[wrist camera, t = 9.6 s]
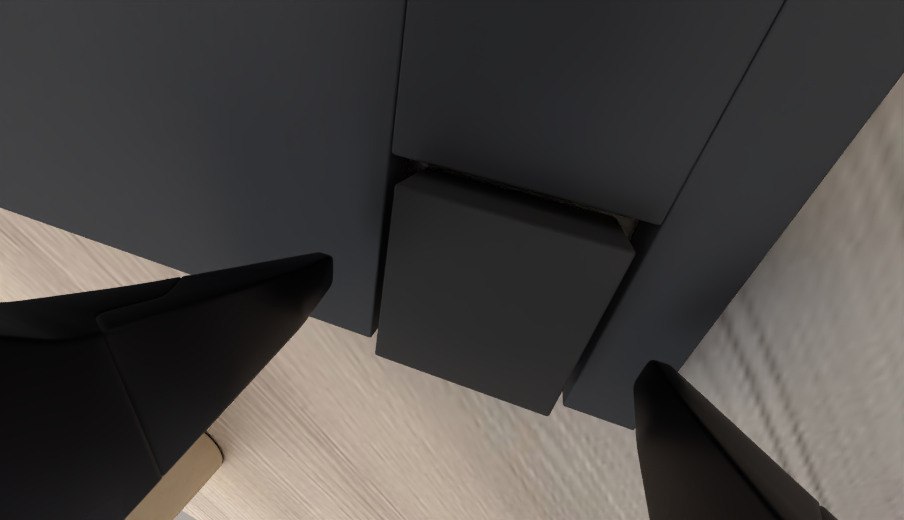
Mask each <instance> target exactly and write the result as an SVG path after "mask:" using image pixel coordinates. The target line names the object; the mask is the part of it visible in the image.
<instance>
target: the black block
mask: <svg viewBox="0 0 904 520" xmlns="http://www.w3.org/2000/svg"><path fill="white" fill-rule="evenodd" d="M634 256H635V250H634V248H633V247H632V245H631V243H630V241H629V240H628V238H627V236H626V235H625V233H624V231H623V230H622V228H621V226H620V224H619V223H618V221H617V220H616V219H615V218H612V217H609V216H605V215H601V214H597V213H594V212H590V211H586V210H583V209H579V208H575V207H572V206H568V205H564V204H560V203H557V202H553V201H549V200H546V199H542V198H538V197H535V196H531V195H527V194H524V193H520V192H516V191H512V190H509V189H505V188H501V187H498V186H494V185H490V184H487V183H483V182H479V181H475V180H472V179H468V178H464V177H461V176H457V175H453V174H450V173H446V172H442V171H439V170H435V169H431V168H424V169H423V170H421V171H419V172H417V173H416V174H414V175H412V176H410V177H408V178H407V179H405V180H403V181H401V182H399V183H398V184H396V186H395V190H394V198H393V207H392V215H391V224H390V232H389V241H388V249H387V258H386V266H385V275H384V283H383V292H382V300H381V309H380V317H379V326H378V334H377V343H376V351H375V354H376V355H378V356H381V357H383V358H386V359H389V360H392V361H395V362H397V363H400V364H403V365H406V366H409V367H411V368H414V369H417V370H420V371H422V372H425V373H428V374H431V375H434V376H436V377H439V378H442V379H445V380H447V381H450V382H453V383H456V384H459V385H461V386H464V387H467V388H470V389H473V390H475V391H478V392H481V393H484V394H486V395H489V396H492V397H495V398H498V399H500V400H503V401H506V402H509V403H512V404H514V405H517V406H520V407H523V408H525V409H528V410H531V411H534V412H537V413H539V414H542V415H545V416H549V414H550V413H551V411H552V409H553V407H554V405H555V403H556V401H557V400H558V398H559V396H560V394H561V392H562V390H563V388H564V387H565V385H566V383H567V381H568V379H569V377H570V375H571V374H572V372H573V370H574V368H575V366H576V364H577V362H578V361H579V359H580V357H581V355H582V353H583V351H584V349H585V347H586V346H587V344H588V342H589V340H590V338H591V336H592V334H593V333H594V331H595V329H596V327H597V325H598V323H599V321H600V320H601V318H602V316H603V314H604V312H605V310H606V308H607V307H608V305H609V303H610V301H611V299H612V297H613V295H614V293H615V292H616V290H617V288H618V286H619V284H620V282H621V280H622V279H623V277H624V275H625V273H626V271H627V269H628V267H629V266H630V264H631V262H632V260H633V258H634Z"/></svg>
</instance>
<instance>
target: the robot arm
mask: <svg viewBox="0 0 904 520" xmlns="http://www.w3.org/2000/svg"><path fill="white" fill-rule="evenodd" d="M332 282H333V258H332V256H330V255H327V254H324V253H321V252H316V253H310V254H305V255H299V256H293V257H288V258H282V259H277V260H271V261H266V262H260V263H255V264H249V265H244V266H238V267H233V268H227V269H222V270H216V271H211V272H205V273H200V274H194V275H188V276H183V277H182V278H180V277H177V278H171V279H166V280H160V281H154V282H149V283H143V284H137V285H130V286H124V287H117V288H110V289H103V290H96V291H89V292H81V293H74V294H67V295H59V296H52V297H45V298H37V299H30V300H23V301H14V302H0V520H125V519H126V518H127V516H128V515H129V514H130V513H131V512H132V511H133V510H134V509H135V508H136V507H137V506H138V505H139V503H140V502H141V501H142V500H143V499H144V498H145V497H146V496H147V495H148V494H149V493H150V491H151V490H152V489H153V488H154V487H155V486H156V485H157V484H158V483H159V482H160V481H161V479H162V478H163V477H162V476H165V475H166V474H167V473H168V471H169V470H170V469H171V468H172V467H173V466H174V465H175V464H176V463H177V462H178V461H179V459H180V458H181V457H182V456H183V455H184V454H185V453H186V452H187V451H188V450H189V449H190V447H191V446H192V445H193V444H194V443H195V442H196V441H197V440H198V439H199V438H200V437H201V435H202V434H203V433H204V432H205V431H206V430H207V429H208V428H209V427H210V426H211V425H212V423H213V422H214V421H215V420H216V419H217V418H218V417H219V416H220V415H221V414H222V413H223V411H224V410H225V409H226V408H227V407H228V406H229V405H230V404H231V403H232V402H233V401H234V399H235V398H236V397H237V396H238V395H239V394H240V393H241V392H242V391H243V390H244V389H245V388H246V386H247V385H248V384H249V383H250V382H251V381H252V380H253V379H254V378H255V377H256V376H257V374H258V373H259V372H260V371H261V370H262V369H263V368H264V367H265V366H266V365H267V364H268V362H269V361H270V360H271V359H272V358H273V357H274V356H275V355H276V354H277V353H278V352H279V350H280V349H281V348H282V347H283V346H284V345H285V344H286V343H287V342H288V341H289V340H290V338H291V337H292V336H293V335H294V334H295V333H296V332H297V331H298V330H299V328H300V327H301V326H302V325H303V324H304V322H305V321H306V320H307V318H308V317H309V316H310V314H311V313H312V312H313V310H314V309H315V308H316V306H317V305H318V303H319V302H320V301H321V299H322V298H323V297H324V295H325V294H326V293H327V291H328V290H329V288H330V287H331V285H332ZM633 395H634V411H635V427H636V441H637V450H638V456H639V462H640V468H641V473H642V479H643V485H644V490H645V496H646V501H647V507H648V513H649V518H650V520H837V519H836V518H835V517H834V516H833V515H832V514H831V513H830V512H829V511H828V510H827V509H826V508H824V507H823V506H819V502H818V501H817V500H816V499H815V498H814V497H812V496H811V495H810V494H809V493H808V492H807V491H806V490H805V489H804V488H803V487H802V486H800V485H799V484H798V483H797V482H796V481H795V480H794V479H793V478H792V477H791V476H790V475H789V474H787V473H786V472H785V471H784V470H783V469H782V468H781V467H780V466H779V465H778V464H777V463H776V462H774V461H773V460H772V459H771V458H770V457H769V456H768V455H767V454H766V453H765V452H764V451H763V450H761V449H760V448H759V447H758V446H757V445H756V444H755V443H754V442H753V441H752V440H751V439H750V438H748V437H747V436H746V435H745V434H744V433H743V432H742V431H741V430H740V429H739V428H738V427H737V426H735V425H734V424H733V423H732V422H731V421H730V420H729V419H728V418H727V417H726V416H725V415H724V414H722V413H721V412H720V411H719V410H718V409H717V408H716V407H715V406H714V405H713V404H712V403H711V402H709V401H708V400H707V399H706V398H705V397H704V396H703V395H702V394H701V393H700V392H699V391H698V390H696V389H695V388H694V387H693V386H692V385H691V384H690V383H689V382H688V381H687V380H686V379H685V378H683V377H682V376H681V375H680V374H679V373H678V372H677V371H676V370H675V369H674V368H673V367H672V366H670V365H669V364H666V363H663V362H660V361H657V360H650V361H649V362H648V363H647V364H646V366H645V367H644V369H643V370H642V371H641V373H640V374H639V376H638V377H637V379H636V381H635V383H634V387H633Z"/></svg>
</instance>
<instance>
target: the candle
mask: <svg viewBox="0 0 904 520" xmlns="http://www.w3.org/2000/svg"><path fill="white" fill-rule="evenodd" d="M221 464H222V455H221V453H220V451H219V449H218V447H217V446H216V444H215V443H214V442H213V441H212V440H211V439H210V438H209V437H208V436H207V435H206V434H205V433H203V434H202V435H201V437H200V438H199V439H198V440H197V441H196V442H195V443H194V444H193V445H192V446H191V447H190V449H189V450H188V451H187V452H186V453H185V454H184V455H183V456H182V457H181V458H180V459H179V461H178V462H177V463H176V464H175V465H174V466H173V467H172V468H171V469H170V470H169V471H168V473H167V474H166V475H165V476H162V477H163V478H162V479H161V481H160V482H159V483H158V484H157V485H156V486H155V487H154V488H153V489H152V490H151V491H150V493H149V494H148V495H147V496H146V497H145V498H144V499H143V500H142V501H141V502H140V503H139V505H138V506H137V507H136V508H135V509H134V510H133V511H132V512H131V513H130V514H129V515H128V516H127V518H126V519H125V520H173V519H174V518H175V517H176V516H177V515H178V514H179V513H180V511H181V510H182V509H183V508H184V507H185V506H186V505H187V504H188V502H189V501H190V500H191V499H192V498H193V497H194V496H195V495H196V494H197V492H198V491H199V490H200V489H201V488H202V487H203V486H204V485H205V483H206V482H207V481H208V480H209V479H210V478H211V477H212V475H213V474H214V473H215V472H216V471H217V470H218V468H219V467H220V465H221Z"/></svg>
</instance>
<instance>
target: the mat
mask: <svg viewBox="0 0 904 520" xmlns="http://www.w3.org/2000/svg"><path fill="white" fill-rule="evenodd" d="M903 73H904V0H0V208H3V209H6V210H9V211H11V212H14V213H17V214H20V215H23V216H26V217H29V218H31V219H34V220H37V221H40V222H43V223H46V224H48V225H51V226H54V227H57V228H60V229H63V230H66V231H68V232H71V233H74V234H77V235H80V236H83V237H85V238H88V239H91V240H94V241H97V242H100V243H103V244H105V245H108V246H111V247H114V248H117V249H120V250H122V251H125V252H128V253H131V254H134V255H137V256H140V257H142V258H145V259H148V260H151V261H154V262H157V263H159V264H162V265H165V266H168V267H171V268H174V269H176V270H179V271H182V272H185V273H188V274H191V275H194V274H200V273H205V272H211V271H216V270H222V269H227V268H233V267H238V266H244V265H249V264H255V263H260V262H266V261H271V260H277V259H282V258H288V257H293V256H299V255H305V254H310V253H316V252H321V253H324V254H327V255H330V256H332V258H333V282H332V285H331V287H330V288H329V290H328V291H327V293H326V294H325V295H324V297H323V298H322V299H321V301H320V302H319V303H318V305H317V306H316V308H315V309H314V310H313V312H312V313H311V314H310V317H313V318H316V319H319V320H322V321H324V322H327V323H330V324H333V325H336V326H339V327H342V328H344V329H347V330H350V331H353V332H356V333H359V334H361V335H364V336H367V337H371V336H372V335H373V334H374V332H375V331H376V330H377V328H378V326H379V317H380V309H381V300H382V292H383V283H384V275H385V266H386V258H387V249H388V241H389V232H390V224H391V215H392V207H393V198H394V190H395V186H396V184H398V183H399V182H401V181H403V180H405V174H406V166H407V158H409V159H413V160H416V161H420V162H424V163H428V164H431V165H435V166H439V167H443V168H446V169H450V170H454V171H457V172H461V173H465V174H469V175H472V176H476V177H480V178H484V179H487V180H491V181H495V182H499V183H502V184H506V185H510V186H514V187H517V188H521V189H525V190H529V191H532V192H536V193H540V194H544V195H547V196H551V197H555V198H559V199H562V200H566V201H570V202H574V203H577V204H581V205H585V206H588V207H592V208H596V209H600V210H603V211H607V212H611V213H615V214H618V215H622V216H626V217H630V218H633V219H637V220H641V221H640V223H639V225H638V227H637V229H636V231H635V233H634V235H633V237H632V239H631V241H630V243H631V245H632V247H633V248H634V250H635V256H634V258H633V260H632V262H631V264H630V266H629V267H628V269H627V271H626V273H625V275H624V277H623V279H622V280H621V282H620V284H619V286H618V288H617V290H616V292H615V293H614V295H613V297H612V299H611V301H610V303H609V305H608V307H607V308H606V310H605V312H604V314H603V316H602V318H601V320H600V321H599V323H598V325H597V327H596V329H595V331H594V333H593V334H592V336H591V338H590V340H589V342H588V344H587V346H586V347H585V349H584V351H583V353H582V355H581V357H580V359H579V361H578V362H577V364H576V366H575V368H574V370H573V372H572V374H571V375H570V377H569V379H568V381H567V383H566V385H565V387H564V388H563V390H562V391H563V405H564V406H566V407H569V408H572V409H574V410H577V411H580V412H583V413H586V414H589V415H591V416H594V417H597V418H600V419H603V420H606V421H609V422H611V423H614V424H617V425H620V426H623V427H626V428H628V429H631V430H634V429H635V428H636V427H635V411H634V395H633V387H634V383H635V381H636V379H637V377H638V376H639V374H640V373H641V371H642V370H643V369H644V367H645V366H646V364H647V363H648V362H649V361H650V360H657V361H660V362H663V363H666V364H669V365H670V366H672V367H673V368H674V369H675V370H676V371H677V372H678V371H679V369H680V368H681V367H682V365H683V364H684V363H685V361H686V360H687V359H688V357H689V356H690V355H691V353H692V352H693V351H694V349H695V348H696V347H697V345H698V344H699V343H700V341H701V340H702V339H703V338H704V336H705V335H706V334H707V332H708V331H709V330H710V328H711V327H712V326H713V324H714V323H715V322H716V320H717V319H718V318H719V316H720V315H721V314H722V312H723V311H724V310H725V308H726V307H727V306H728V304H729V303H730V302H731V300H732V299H733V298H734V296H735V295H736V294H737V293H738V291H739V290H740V289H741V287H742V286H743V285H744V283H745V282H746V281H747V279H748V278H749V277H750V275H751V274H752V273H753V271H754V270H755V269H756V267H757V266H758V265H759V263H760V262H761V261H762V259H763V258H764V257H765V255H766V254H767V253H768V251H769V250H770V249H771V248H772V246H773V245H774V244H775V242H776V241H777V240H778V238H779V237H780V236H781V234H782V233H783V232H784V230H785V229H786V228H787V226H788V225H789V224H790V222H791V221H792V220H793V218H794V217H795V216H796V214H797V213H798V212H799V210H800V209H801V208H802V206H803V205H804V204H805V203H806V201H807V200H808V199H809V197H810V196H811V195H812V193H813V192H814V191H815V189H816V188H817V187H818V185H819V184H820V183H821V181H822V180H823V179H824V177H825V176H826V175H827V173H828V172H829V171H830V169H831V168H832V167H833V165H834V164H835V163H836V161H837V160H838V159H839V157H840V156H841V155H842V154H843V152H844V151H845V150H846V148H847V147H848V146H849V144H850V143H851V142H852V140H853V139H854V138H855V136H856V135H857V134H858V132H859V131H860V130H861V128H862V127H863V126H864V124H865V123H866V122H867V120H868V119H869V118H870V116H871V115H872V114H873V112H874V111H875V110H876V109H877V107H878V106H879V105H880V103H881V102H882V101H883V99H884V98H885V97H886V95H887V94H888V93H889V91H890V90H891V89H892V87H893V86H894V85H895V83H896V82H897V81H898V79H899V78H900V77H901V75H902V74H903Z"/></svg>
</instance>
